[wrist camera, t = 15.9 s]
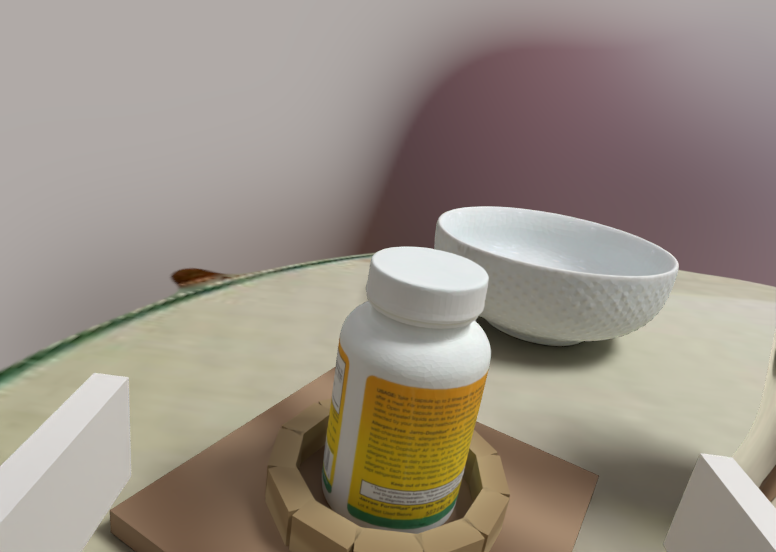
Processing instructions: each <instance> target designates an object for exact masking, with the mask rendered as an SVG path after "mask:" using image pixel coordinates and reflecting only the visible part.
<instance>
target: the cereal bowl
mask: <svg viewBox="0 0 776 552" xmlns="http://www.w3.org/2000/svg"><path fill="white" fill-rule="evenodd" d="M435 250H441V251H445V252H449V253H452V254H456V255H459V256H462V257H464V258H467V259H469V260H471V261H473V262H475V263H476V264H478V265H479V266H481V267H482V268H483V269H484V270H485V271H486V272H487V274H488V277H489V281H488V288H487V293H486V298H485V305H484V309H483V311H482V313H481V314H479V316H480V317H483V318H485V319H486V320H487V321H488V322H489V323H490V324H491V325H492V326H494V327H495V328H497V329H498V330H500V331H502V332H504V333H506V334H508V335H511V336H513V337H516V338H519V339H522V340H525V341H529V342H533V343H538V344H543V345H551V346H569V345H574V344H578V343H580V342H582V341H599V340H607V339H614V338H616V337H621V336H624V335H627V334H629V333H631V332H633V331H636V330H638V329H639V328H640V327H642V326H645V325H646V324H647V323H648V322H649V321H651V320H652V319H653V318H654V316H656V315H657V314H658V313H659V311H660V310H661V309H662V308H663V305H664V304H665V302H666V300H667V299H668V297H669V294H670V292H671V290H672V288H673V285H674V282H675V280H676V276H677V273H678V265H679V264H678V262H677V260H676V259H675V257H674V256H672V255H671V254H670V253H669V252H667V251H666V250H664V249H662V248H661V247H659V246H657V245H655V244H653V243H651V242H649V241H646V240H644V239H642V238H640V237H637V236H634V235H632V234H629V233H626V232H624V231H621V230H618V229H614V228H611V227H608V226H605V225H601V224H598V223H594V222H590V221H586V220H582V219H578V218H574V217H569V216H564V215H559V214H554V213H547V212H541V211H534V210H527V209H518V208H509V207H466V208H459V209H455V210H451V211H448V212H446V213H444V214H442V215H441V216H440V217H439V219H438V221H437V225H436V233H435Z"/></svg>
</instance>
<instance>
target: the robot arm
mask: <svg viewBox="0 0 776 552" xmlns="http://www.w3.org/2000/svg"><path fill="white" fill-rule="evenodd" d="M130 477H131V448H130V411H129V377H122V376H115V375H107V374H100V373H94V374H92V375H91V376H90V377H89V378H88V379H87V380H86V381H85V382H84V383H83V384H82V385H81V386H80V387H79V388H78V389H77V390H76V391H75V392H74V393H73V394H72V395H71V396H70V397H69V398H68V399H67V400H66V401H65V402H64V403H63V404H62V405H61V406H60V407H59V408H58V409H57V410H56V411H55V412H54V413H53V414H52V415H51V416H50V417H49V418H48V419H47V420H46V421H45V422H44V423H43V424H42V425H41V426H40V427H39V428H38V429H37V430H36V431H35V432H34V433H33V434H32V435H31V436H30V437H29V438H28V439H27V440H26V441H25V442H24V443H23V444H22V445H21V446H20V447H19V448H18V449H17V450H16V451H15V452H14V453H13V454H12V455H11V456H10V457H9V458H8V459H7V460H6V461H5V462H4V463H3V464H2V465H1V466H0V552H81V551H82V550H83V548H84V547H85V545H86V544H87V542H88V541H89V539H90V538H91V536H92V535H93V533H94V532H95V530H96V529H97V527H98V526H99V524H100V523H101V521H102V520H103V518H104V517H105V515H106V514H107V512H108V511H109V509H110V507H111V506H112V504H113V503H114V501H115V500H116V498H117V497H118V495H119V494H120V492H121V491H122V489H123V488H124V486H125V485H126V483H127V482H128V480H129V479H130ZM663 545H664V547H665V549H666V551H667V552H776V508H775V507H774V506H773V505H772V503H771V502H770V501H769V500H768V499H767V498H766V496H765V495H764V494H763V493H762V492H761V490H760V489H759V488H758V487H757V486H756V485H755V483H754V482H753V481H752V480H751V479H750V478H749V476H748V475H747V474H746V473H745V472H744V470H743V469H742V468H741V467H740V466H739V465H738V463H737V462H736V461H735V460H734V459H733V458H732V457H725V456H717V455H710V454H702V453H700V455H699V457H698V460H697V462H696V465H695V467H694V469H693V472H692V474H691V477H690V479H689V482H688V484H687V487H686V489H685V491H684V494H683V496H682V499H681V501H680V504H679V506H678V508H677V511H676V513H675V516H674V518H673V521H672V523H671V526H670V528H669V530H668V533H667V535H666V538H665V540H664V543H663Z"/></svg>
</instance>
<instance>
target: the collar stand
mask: <svg viewBox="0 0 776 552" xmlns="http://www.w3.org/2000/svg"><path fill="white" fill-rule="evenodd" d="M335 368H336V367H334V368H333V369H331V370H329V371H328V372H326V373H325V374H323V375H322V376H320V377H318V378H317V379H315V380H314V381H312V382H311V383H309V384H307V385H306V386H304V387H303V388H301V389H300V390H298V391H296V392H295V393H293V394H292V395H290V396H289V397H287V398H285V399H284V400H282V401H281V402H279V403H278V404H276V405H274V406H273V407H271V408H270V409H268V410H267V411H265V412H263V413H262V414H260V415H259V416H257V417H256V418H254V419H252V420H251V421H249V422H248V423H246V424H245V425H243V426H241V427H240V428H238V429H237V430H235V431H234V432H232V433H230V434H229V435H227V436H226V437H224V438H223V439H221V440H219V441H218V442H216V443H215V444H213V445H212V446H210V447H208V448H207V449H205V450H204V451H202V452H201V453H199V454H197V455H196V456H194V457H193V458H191V459H190V460H188V461H186V462H185V463H183V464H182V465H180V466H179V467H177V468H175V469H174V470H172V471H171V472H169V473H168V474H166V475H164V476H163V477H161V478H160V479H158V480H157V481H155V482H153V483H152V484H150V485H149V486H147V487H146V488H144V489H142V490H141V491H139V492H138V493H136V494H135V495H133V496H131V497H130V498H128V499H127V500H125V501H124V502H122V503H120V504H119V505H117V506H116V507H114V508H113V509H111V510H110V526H111V533H112V534H114V535H115V536H116V537H117V538H119V539H120V540H121V541H123V542H124V543H125V544H126V545H128V546H129V547H130V548H132V549H133V550H134V551H135V552H572V550H573V547H574V545H575V542H576V539H577V536H578V534H579V531H580V528H581V525H582V522H583V520H584V517H585V514H586V511H587V509H588V506H589V503H590V500H591V497H592V495H593V492H594V489H595V486H596V483H597V480H598V477H599V475H596V474H594V473H592V472H590V471H587V470H585V469H583V468H581V467H578V466H576V465H574V464H572V463H569V462H567V461H565V460H562V459H560V458H558V457H556V456H553V455H551V454H549V453H547V452H544V451H542V450H540V449H538V448H535V447H533V446H531V445H528V444H526V443H524V442H522V441H519V440H517V439H515V438H513V437H510V436H508V435H506V434H504V433H501V432H499V431H497V430H494V429H492V428H490V427H488V426H485V425H483V424H481V423H479V422H476V423H475V427H474V431H473V435H472V439H471V443H470V448H469V452H468V456H467V460H466V464H465V469H464V473H463V476H462V481H461V485H460V489H459V493H458V497H457V500H456V504H455V507H454V509H453V512H452V514H451V515H450V517H449V518H448V520H447V521H446V522H445V523H444V524H443V525H441V526H439V527H436V528H433V529H430V530H428V531H425V532H422V533H419V534H413V533H405V532H397V531H388V530H380V529H371V528H363V527H359V526H358V525H356V524H354V523H353V522H351V521H349V520H348V519H346V518H344V517H342V516H341V515H339V514H337V513H336V512H334V511H333V510H332V508H331V507H330V505H329V504H328V502H327V500H326V498H325V496H324V493H323V489H322V469H323V460H324V451H325V442H326V435H327V428H328V420H329V412H330V405H331V398H332V391H333V383H334V376H335Z"/></svg>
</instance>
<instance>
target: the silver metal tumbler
mask: <svg viewBox="0 0 776 552" xmlns="http://www.w3.org/2000/svg"><path fill="white" fill-rule="evenodd" d="M731 457H732V458H733V459H734V460H735V461H736V462H737V463H738V465H739V466H740V467H741V468H742V469H743V470H744V472H745V473H746V474H747V475H748V476H749V478H750V479H751V480H752V481H753V482H754V483H755V485H756V486H757V487H758V488H759V489H760V490H761V492H762V493H763V494H764V495H765V496H766V498H767V499H768V500H769V501H770V502H771V503H772V505H773V506H774V507H775V508H776V328H775V333H774V338H773V343H772V348H771V353H770V358H769V363H768V369H767V374H766V380H765V385H764V389H763V394H762V398H761V402H760V406H759V409H758V412H757V414H756V417H755V420H754V422H753V424H752V426H751V428H750V430H749V432H748V434H747V436H746V437H745V439H744V440H743V442H742V443H741V445H740V446H739V447H738V449H737V450H736V451H735V453H734V454H733V455H732V456H731Z"/></svg>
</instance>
